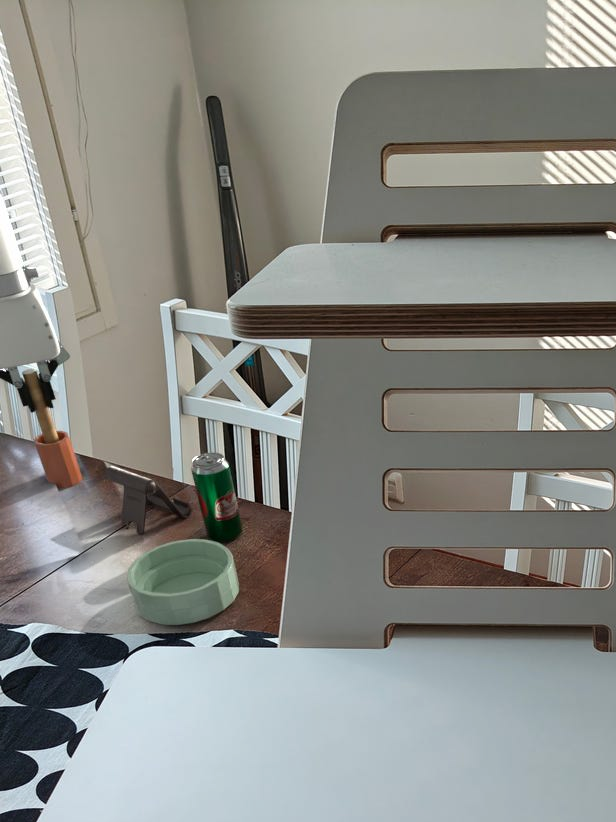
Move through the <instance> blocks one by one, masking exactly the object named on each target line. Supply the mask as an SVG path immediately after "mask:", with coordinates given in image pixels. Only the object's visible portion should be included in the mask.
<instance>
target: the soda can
mask: <svg viewBox="0 0 616 822" xmlns="http://www.w3.org/2000/svg"><path fill="white" fill-rule="evenodd" d="M191 463H192V466H191V468H190V471H191V475H192V479H193V483H194V487H195V491H196V495H197V499H198V504H199V509H200V512H201V516H202V521H203V524H204V528H205V533H206V536H207V537H208V538H209V540H210V541H214V542H218V543H228V542H231V541H234V540H237V538H239V537H240V535H241V534H242V532H243V529H244V528H243V523H242V519H241V513H240V510H239V505H238V501H237V496H236V491H235V487H234V481H233V478H232V474H231V467H230V463H229V462H228V461H227V459H226V458H225V455H224V454H222V453H220V452H205V453H201V454H199V455H197V456H195V457H194V458H193V459H192V462H191Z"/></svg>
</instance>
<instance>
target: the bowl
mask: <svg viewBox="0 0 616 822" xmlns="http://www.w3.org/2000/svg"><path fill="white" fill-rule="evenodd" d="M238 577H239V576H238V572H237V568H236V564H235V560H234V556H233V554H232V552H231V551H230V549H229V548H228V547H227V546H226V545H223V544H221V542H215V541H213V540H210V539H209V540H208V539H203V538H202V539H200V538H191V539H190V538H189V539H181V540H174V541H171V542H170V541H169V542H167V543H164V544H161V545H158V546H155V547H154V548H152V549H149V550H147V551H145V552H144V553H143V554H141V555H140V556H138V557H137V558H136V559H134V561H133V562H132V563H131V564H130V566H129V567H128V569H127V574H126V581H127V583H128V584H127V585H128V588H129V591H130V595H131V597H132V600H133V603H134V606H135V607H134V608H135V609H136V611H137V613H138V615H139V616H141V617H142V618H144V619H145V620H147V621H149V622H152V623H156V624H159V625H167V626H169V625H170V626H179V625H181V626H182V625H186V624H193V623H198V622H201V621H203V620H207V619H210V618H212V617H214V616H215V615H217V614H219V613H221V612H223V611H225V610H226V608H228V607H229V606H231V604H232V603H233V602H234V601H235V600H236V598H237V596H238V594H239V592H240V582H239V578H238Z"/></svg>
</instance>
